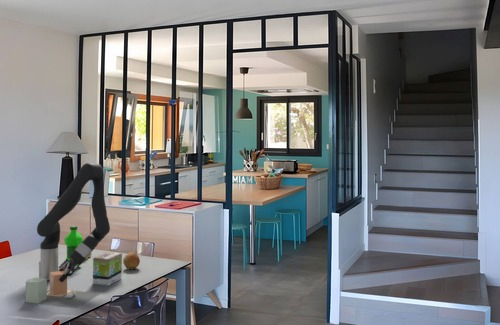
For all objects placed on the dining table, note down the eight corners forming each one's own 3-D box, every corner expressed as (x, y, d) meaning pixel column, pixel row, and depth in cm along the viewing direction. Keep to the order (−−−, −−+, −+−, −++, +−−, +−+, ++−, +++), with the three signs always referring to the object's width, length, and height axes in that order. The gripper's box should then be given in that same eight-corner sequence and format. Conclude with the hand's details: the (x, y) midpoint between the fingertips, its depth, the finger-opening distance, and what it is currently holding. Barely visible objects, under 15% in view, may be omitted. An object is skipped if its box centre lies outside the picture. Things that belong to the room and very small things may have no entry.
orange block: (53, 295, 244) (53, 275, 244) (49, 292, 249) (49, 272, 249) (67, 293, 248) (67, 273, 248) (63, 289, 253) (63, 270, 253)
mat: (23, 303, 234) (23, 302, 234) (52, 289, 255) (52, 288, 255) (76, 309, 228) (76, 307, 228) (101, 294, 249) (101, 293, 249)
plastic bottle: (86, 266, 301) (86, 226, 300) (71, 270, 292) (71, 228, 291) (75, 264, 306) (75, 224, 305) (61, 267, 297) (60, 226, 296)
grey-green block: (25, 302, 234) (25, 281, 234) (34, 297, 241) (34, 277, 240) (38, 303, 233) (38, 282, 232) (46, 298, 239) (46, 278, 239)
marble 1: (65, 298, 240) (65, 292, 240) (68, 296, 243) (68, 290, 243) (70, 299, 239) (70, 293, 239) (74, 297, 242) (74, 291, 242)
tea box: (109, 286, 263) (109, 258, 262) (92, 284, 265) (92, 257, 264) (122, 278, 278) (122, 252, 277) (105, 277, 280) (105, 251, 279)
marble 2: (68, 296, 243) (68, 290, 243) (72, 294, 246) (72, 288, 246) (74, 297, 243) (74, 291, 243) (77, 295, 246) (77, 289, 245)
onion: (119, 270, 294) (119, 253, 294) (128, 266, 304) (128, 250, 303) (134, 271, 291) (134, 255, 291) (142, 267, 301) (142, 251, 300)
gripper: (71, 246, 259) (48, 271, 252) (80, 252, 247) (56, 278, 241) (81, 255, 262) (59, 280, 256) (90, 261, 251) (67, 287, 244)
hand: (57, 279), depth 248 cm, fingers open, 8 cm apart
